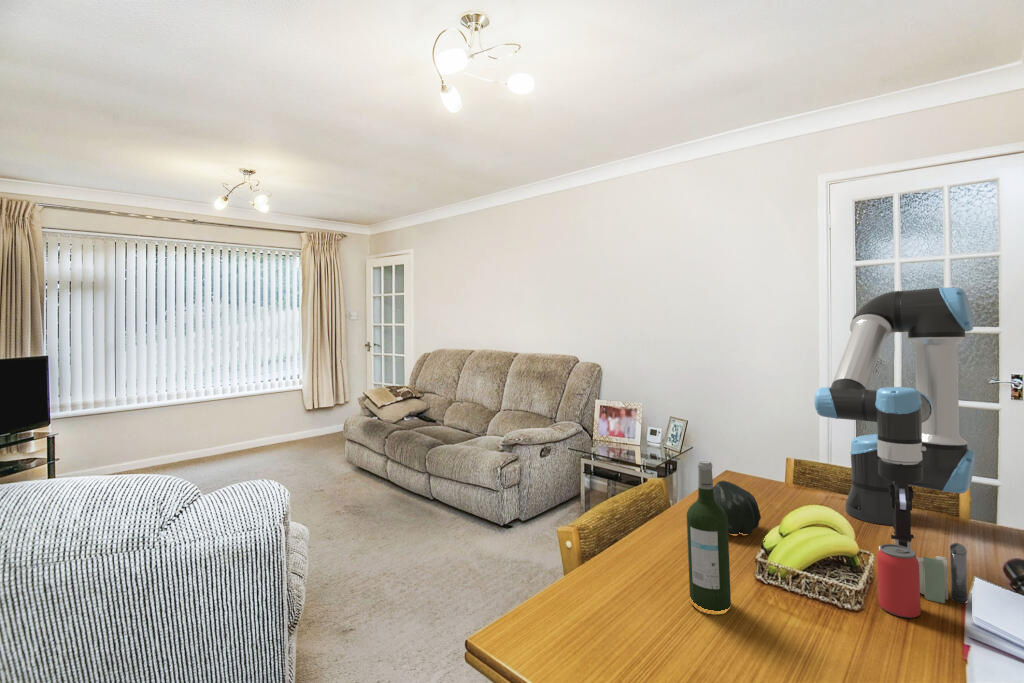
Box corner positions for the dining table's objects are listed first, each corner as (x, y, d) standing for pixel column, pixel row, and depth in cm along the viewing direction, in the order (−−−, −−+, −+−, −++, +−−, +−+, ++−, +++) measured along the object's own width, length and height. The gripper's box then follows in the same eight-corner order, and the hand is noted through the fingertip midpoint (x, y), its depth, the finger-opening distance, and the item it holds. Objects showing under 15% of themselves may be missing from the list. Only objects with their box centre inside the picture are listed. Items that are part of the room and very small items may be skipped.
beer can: (929, 620, 92) (927, 558, 92) (889, 618, 93) (887, 557, 93) (908, 601, 98) (906, 543, 98) (871, 599, 100) (869, 541, 100)
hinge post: (949, 595, 100) (948, 539, 100) (967, 599, 98) (965, 542, 98) (951, 601, 98) (950, 544, 97) (969, 605, 96) (967, 547, 96)
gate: (946, 595, 100) (945, 557, 100) (948, 599, 98) (947, 560, 98) (879, 582, 106) (878, 546, 106) (880, 585, 105) (879, 548, 105)
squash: (773, 508, 136) (733, 465, 141) (768, 530, 124) (724, 482, 128) (733, 533, 142) (696, 491, 147) (725, 557, 130) (684, 510, 135)
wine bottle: (729, 597, 103) (723, 457, 102) (733, 618, 96) (727, 467, 95) (689, 592, 106) (684, 455, 105) (690, 612, 98) (684, 466, 97)
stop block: (924, 594, 101) (923, 556, 100) (943, 598, 99) (942, 560, 99) (925, 599, 99) (924, 560, 99) (944, 603, 97) (943, 564, 97)
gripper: (926, 469, 97) (929, 586, 97) (919, 455, 107) (923, 560, 107) (878, 465, 101) (882, 577, 101) (877, 451, 111) (880, 553, 112)
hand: (903, 568), depth 104 cm, fingers closed
